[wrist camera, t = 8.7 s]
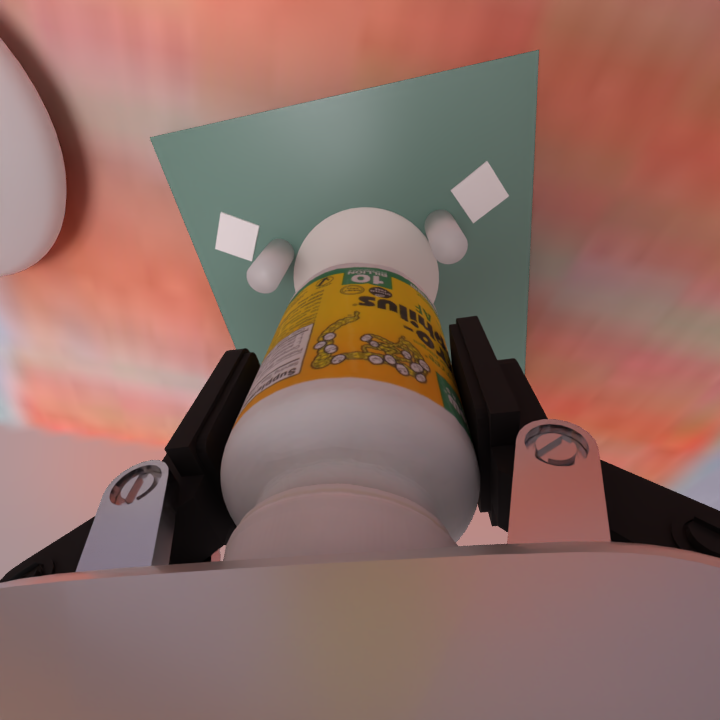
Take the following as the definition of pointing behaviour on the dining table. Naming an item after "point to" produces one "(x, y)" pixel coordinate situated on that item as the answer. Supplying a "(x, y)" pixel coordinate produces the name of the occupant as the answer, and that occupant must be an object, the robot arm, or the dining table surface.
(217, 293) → the board
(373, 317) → the supplement bottle
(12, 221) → the flower in vase
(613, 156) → the dining table surface
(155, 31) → the dining table surface
